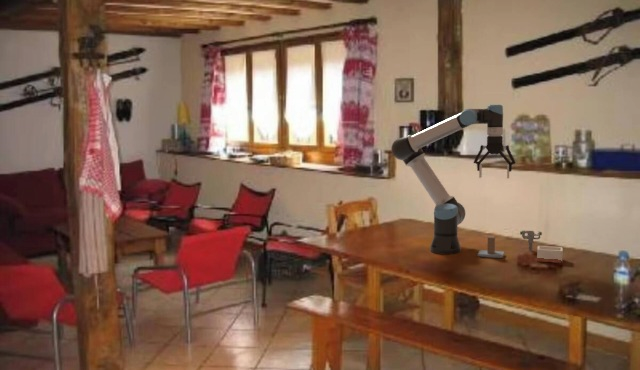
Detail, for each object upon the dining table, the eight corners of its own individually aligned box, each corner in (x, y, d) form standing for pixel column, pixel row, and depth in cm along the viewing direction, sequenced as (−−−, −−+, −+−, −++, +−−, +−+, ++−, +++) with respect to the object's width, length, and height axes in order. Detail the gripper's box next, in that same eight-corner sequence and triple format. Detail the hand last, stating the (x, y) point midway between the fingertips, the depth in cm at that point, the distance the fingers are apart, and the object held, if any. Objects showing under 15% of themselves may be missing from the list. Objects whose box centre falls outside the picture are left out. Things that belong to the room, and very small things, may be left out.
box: (536, 261, 301) (537, 249, 300) (537, 258, 308) (538, 245, 308) (561, 263, 297) (562, 251, 296) (562, 259, 304) (562, 247, 304)
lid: (477, 257, 311) (478, 237, 310) (480, 253, 319) (480, 234, 318) (502, 259, 307) (502, 239, 306) (504, 255, 315) (504, 235, 314)
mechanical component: (541, 251, 321) (542, 232, 320) (520, 251, 323) (520, 231, 322) (540, 250, 324) (541, 230, 322) (519, 249, 326) (520, 230, 324)
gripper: (468, 136, 322) (467, 177, 325) (520, 136, 313) (519, 179, 316) (470, 135, 329) (470, 176, 332) (521, 135, 320) (520, 177, 322)
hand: (494, 177), depth 324 cm, fingers open, 13 cm apart
